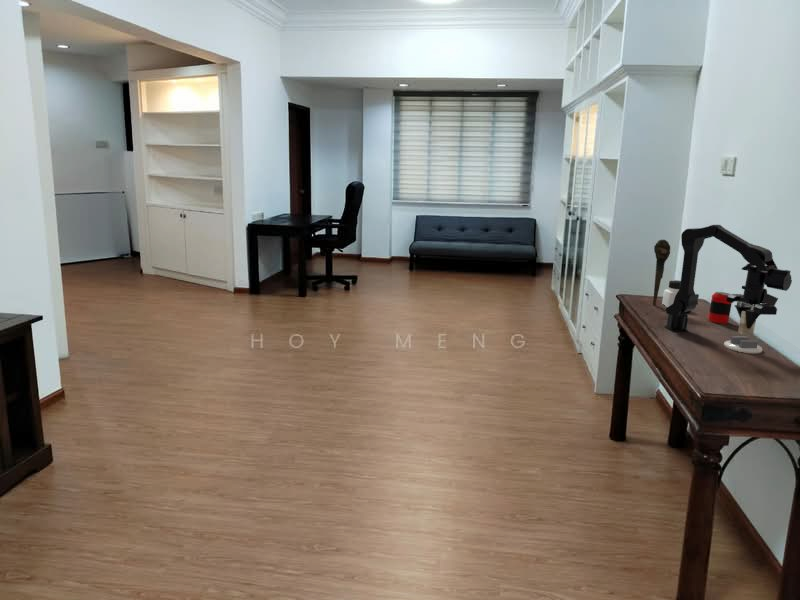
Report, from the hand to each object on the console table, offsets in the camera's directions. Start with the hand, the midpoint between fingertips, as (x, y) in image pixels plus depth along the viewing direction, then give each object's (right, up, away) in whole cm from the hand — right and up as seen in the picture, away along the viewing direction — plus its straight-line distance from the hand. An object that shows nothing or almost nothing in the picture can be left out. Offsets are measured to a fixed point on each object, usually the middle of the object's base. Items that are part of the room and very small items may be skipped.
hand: (746, 327), depth 213 cm
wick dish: (0, -7, +2) cm, 8 cm away
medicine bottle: (+1, +7, +60) cm, 60 cm away
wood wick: (0, -2, +1) cm, 2 cm away
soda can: (+10, +1, +37) cm, 38 cm away
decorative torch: (-7, +7, +61) cm, 61 cm away
